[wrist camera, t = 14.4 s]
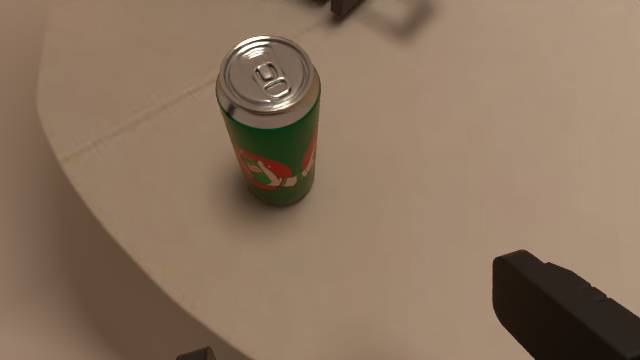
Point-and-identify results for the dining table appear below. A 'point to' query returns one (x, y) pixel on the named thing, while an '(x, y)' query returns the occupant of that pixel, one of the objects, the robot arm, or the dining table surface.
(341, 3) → the drawer
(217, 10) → the dining table surface
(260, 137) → the soda can
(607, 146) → the dining table surface
